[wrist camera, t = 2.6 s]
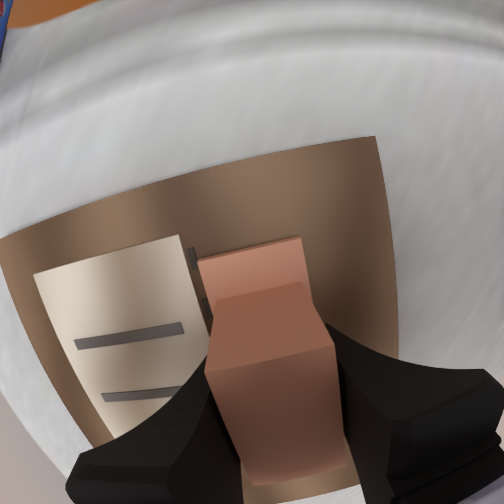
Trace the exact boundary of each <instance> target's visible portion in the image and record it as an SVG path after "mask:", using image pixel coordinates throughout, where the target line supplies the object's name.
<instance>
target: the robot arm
mask: <svg viewBox="0 0 504 504" xmlns="http://www.w3.org/2000/svg"><path fill="white" fill-rule="evenodd" d="M324 325H325V327H326V329H327V331H328V333H329V335H330V337H331V339H332V340H333V342H334V345H335V353H336V361H337V370H338V379H339V388H340V398H341V409H342V420H343V433H344V436H345V438H346V440H347V443H348V445H349V448H350V452H351V455H352V458H353V461H354V464H355V467H356V471H357V474H358V477H359V481H360V484H361V487H362V491H363V494H364V498H365V502H366V504H504V451H503V450H502V449H501V448H500V446H499V444H500V443H501V438H500V436H499V435H498V434H497V433H496V432H495V431H496V428H497V426H498V424H499V421H500V418H501V416H502V413H503V410H504V388H503V386H502V385H501V384H500V383H499V382H498V381H497V380H495V379H494V378H493V377H492V376H491V375H490V374H489V373H488V372H487V371H486V370H484V369H445V368H435V367H428V366H422V365H418V364H413V363H409V362H405V361H401V360H398V359H395V358H392V357H389V356H386V355H384V354H381V353H379V352H376V351H374V350H372V349H370V348H368V347H366V346H364V345H362V344H360V343H358V342H356V341H354V340H353V339H351V338H349V337H348V336H346V335H345V334H343V333H341V332H340V331H338V330H337V329H335V328H334V327H332V326H331V325H329V324H327V323H326V324H324ZM206 359H207V355H206V357H205V358H204V360H203V361H202V362H201V364H200V365H199V366H198V368H197V369H196V370H195V371H194V373H193V374H192V375H191V377H190V378H189V379H188V380H187V381H186V383H185V384H184V385H183V386H182V387H181V388H180V389H179V390H178V392H177V393H176V394H175V395H174V396H173V397H172V398H171V399H170V400H169V401H168V402H167V403H166V404H165V405H163V406H162V407H161V408H160V409H159V410H158V411H157V412H155V413H154V414H153V415H151V416H150V417H149V418H147V419H146V420H144V421H143V422H142V423H140V424H139V425H137V426H136V427H135V428H133V429H131V430H130V431H128V432H126V433H125V434H123V435H121V436H119V437H117V438H115V439H114V440H112V441H109V442H107V443H105V444H103V445H101V446H98V447H96V448H93V449H91V450H88V451H86V452H83V453H80V455H79V457H78V459H77V461H76V463H75V465H74V467H73V469H72V471H71V473H70V476H69V478H68V480H67V482H66V491H67V493H68V495H69V497H70V499H71V500H72V501H73V502H74V503H75V504H244V499H243V489H242V476H241V459H240V457H239V455H238V453H237V451H236V448H235V446H234V444H233V442H232V439H231V437H230V435H229V432H228V430H227V428H226V425H225V423H224V421H223V418H222V416H221V414H220V411H219V409H218V406H217V404H216V401H215V399H214V396H213V394H212V391H211V389H210V386H209V384H208V381H207V378H206V376H205V373H204V371H205V365H206Z"/></svg>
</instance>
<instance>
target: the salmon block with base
mask: <svg viewBox="0 0 504 504" xmlns="http://www.w3.org/2000/svg"><path fill="white" fill-rule="evenodd" d="M197 263H198V267H199V270H200V274H201V277H202V281H203V284H204V288H205V291H206V294H207V298H208V301H209V304H210V308H211V311H212V314H213V318H214V319H213V325H212V330H211V336H210V342H209V347H208V353H207V359H206V365H205V371H204V373H205V376H206V378H207V381H208V384H209V386H210V389H211V391H212V394H213V396H214V399H215V401H216V404H217V406H218V409H219V411H220V414H221V416H222V418H223V421H224V423H225V425H226V428H227V430H228V432H229V435H230V437H231V439H232V442H233V444H234V446H235V448H236V451H237V453H238V455H239V457H240V459H241V462H242V464H243V466H244V468H245V470H246V472H247V474H248V477H249V479H250V481H251V483H252V485H253V486H259V485H265V484H272V483H278V482H283V481H288V480H293V479H298V478H303V477H308V476H312V475H316V474H320V473H324V472H328V471H332V470H336V469H339V468H343V467H346V463H345V446H344V433H343V420H342V409H341V398H340V388H339V379H338V370H337V361H336V353H335V345H334V342H333V340H332V339H331V337H330V335H329V333H328V331H327V329H326V327H325V325H324V324H323V322H322V320H321V318H320V316H319V314H318V312H317V311H316V309H315V307H314V305H313V300H312V295H311V289H310V283H309V278H308V272H307V267H306V262H305V256H304V251H303V246H302V241H301V238H300V237H299V236H296V237H292V238H287V239H283V240H279V241H274V242H270V243H266V244H261V245H257V246H253V247H248V248H244V249H240V250H235V251H231V252H227V253H223V254H218V255H214V256H210V257H205V258H201V259H199V260H198V262H197Z"/></svg>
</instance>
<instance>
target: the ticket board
mask: <svg viewBox="0 0 504 504" xmlns="http://www.w3.org/2000/svg"><path fill="white" fill-rule="evenodd" d="M296 236H299V237H300V238H301V241H302V246H303V251H304V256H305V262H306V267H307V272H308V278H309V283H310V289H311V295H312V300H313V305H314V307H315V309H316V311H317V312H318V314H319V316H320V318H321V320H322V322H323V324H326V323H327V324H329V325H331V326H332V327H334V328H335V329H337V330H338V331H340V332H341V333H343V334H345V335H346V336H348V337H349V338H351V339H353V340H354V341H356V342H358V343H360V344H362V345H364V346H366V347H368V348H370V349H372V350H374V351H376V352H379V353H381V354H384V355H386V356H389V357H392V358H395V359H398V306H397V287H396V273H395V261H394V251H393V241H392V233H391V224H390V217H389V210H388V203H387V196H386V190H385V184H384V178H383V173H382V167H381V162H380V157H379V152H378V147H377V143H376V138H375V136H369V137H362V138H355V139H349V140H342V141H336V142H330V143H324V144H318V145H312V146H307V147H301V148H296V149H291V150H286V151H281V152H276V153H271V154H266V155H262V156H257V157H253V158H248V159H244V160H239V161H235V162H231V163H227V164H223V165H218V166H214V167H210V168H207V169H203V170H199V171H195V172H191V173H188V174H184V175H180V176H177V177H173V178H170V179H166V180H163V181H159V182H156V183H152V184H149V185H146V186H142V187H139V188H136V189H133V190H129V191H126V192H123V193H120V194H117V195H114V196H111V197H108V198H105V199H102V200H99V201H96V202H93V203H90V204H88V205H85V206H82V207H79V208H76V209H74V210H71V211H68V212H65V213H63V214H60V215H57V216H55V217H52V218H50V219H47V220H45V221H42V222H40V223H37V224H35V225H32V226H30V227H27V228H25V229H22V230H20V231H18V232H15V233H13V234H11V235H8V236H6V237H4V238H1V239H0V265H1V268H2V271H3V274H4V277H5V280H6V283H7V286H8V289H9V291H10V294H11V297H12V299H13V302H14V305H15V307H16V310H17V312H18V315H19V317H20V319H21V322H22V324H23V326H24V329H25V331H26V333H27V335H28V338H29V340H30V342H31V344H32V346H33V348H34V350H35V352H36V354H37V356H38V358H39V360H40V362H41V364H42V366H43V368H44V370H45V372H46V374H47V375H48V377H49V379H50V381H51V383H52V384H53V386H54V388H55V390H56V391H57V393H58V395H59V396H60V398H61V400H62V401H63V403H64V405H65V406H66V408H67V410H68V411H69V413H70V414H71V416H72V417H73V419H74V420H75V422H76V423H77V425H78V426H79V428H80V429H81V431H82V432H83V434H84V435H85V437H86V438H87V439H88V441H89V442H90V443H91V445H92V446H93V448H96V447H98V446H101V445H103V444H105V443H107V442H109V441H112V440H114V439H115V438H117V437H119V436H121V435H123V434H125V433H126V432H128V431H130V430H131V429H133V428H135V427H136V426H137V425H139V424H140V423H142V422H143V421H144V420H146V419H147V418H149V417H150V416H151V415H153V414H154V413H155V412H157V411H158V410H159V409H160V408H161V407H162V406H163V405H165V404H166V403H167V402H168V401H169V400H170V399H171V398H172V397H173V396H174V395H175V394H176V393H177V392H178V390H179V389H180V388H181V387H182V386H183V385H184V384H185V383H186V381H187V380H188V379H189V378H190V377H191V375H192V374H193V373H194V371H195V370H196V369H197V368H198V366H199V365H200V364H201V362H202V361H203V360H204V358H205V357H206V355H207V353H208V347H209V342H210V336H211V330H212V325H213V319H214V318H213V314H212V311H211V308H210V304H209V301H208V298H207V294H206V291H205V288H204V284H203V281H202V277H201V274H200V270H199V267H198V263H197V262H198V260H199V259H201V258H205V257H210V256H214V255H218V254H223V253H227V252H231V251H235V250H240V249H244V248H248V247H253V246H257V245H261V244H266V243H270V242H274V241H279V240H283V239H287V238H292V237H296ZM344 446H345V463H346V467H343V468H339V469H336V470H332V471H328V472H324V473H320V474H316V475H312V476H308V477H303V478H298V479H293V480H288V481H283V482H278V483H272V484H265V485H259V486H253V485H252V483H251V481H250V479H249V477H248V474H247V472H246V470H245V468H244V466H243V464H242V462H241V476H242V489H243V499H244V504H277V503H283V502H289V501H294V500H299V499H304V498H309V497H313V496H317V495H322V494H326V493H330V492H334V491H337V490H341V489H345V488H348V487H351V486H355V485H358V484H360V481H359V477H358V474H357V471H356V467H355V464H354V461H353V458H352V455H351V452H350V448H349V445H348V443H347V440H346V438H345V436H344Z"/></svg>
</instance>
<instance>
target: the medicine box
mask: <svg viewBox="0 0 504 504" xmlns="http://www.w3.org/2000/svg"><path fill="white" fill-rule="evenodd" d="M12 4H13V0H0V55H1V49H2V44H3V39H4V35H5V30H6V26H7V22H8V18H9V14H10V11H11V7H12Z"/></svg>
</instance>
